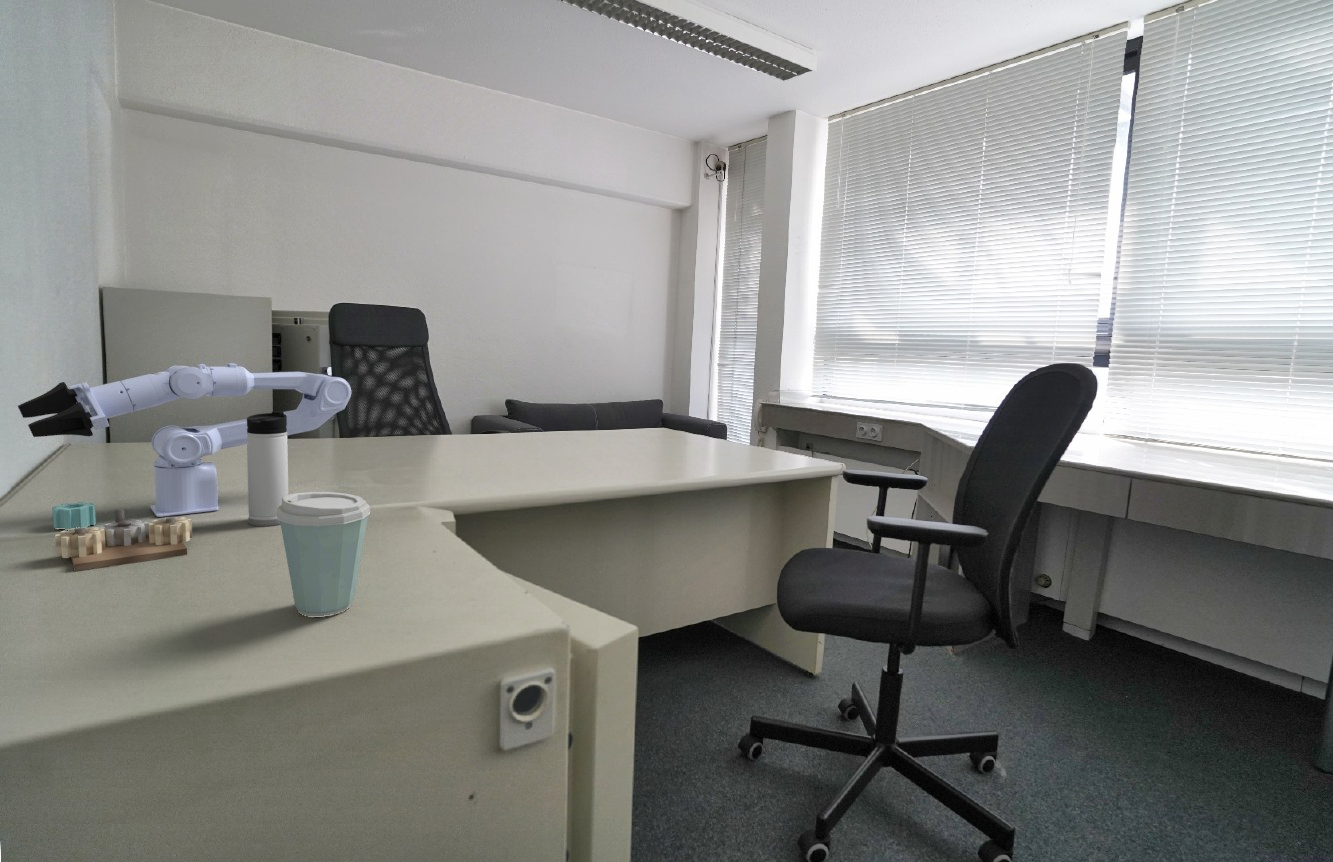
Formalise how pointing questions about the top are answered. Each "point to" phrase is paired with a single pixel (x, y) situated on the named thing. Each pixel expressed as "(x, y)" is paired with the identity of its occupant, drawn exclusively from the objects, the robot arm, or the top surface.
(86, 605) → the top surface
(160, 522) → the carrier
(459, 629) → the top surface
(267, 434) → the travel mug
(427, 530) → the top surface
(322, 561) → the disposable coffee cup
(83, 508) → the teal gear
